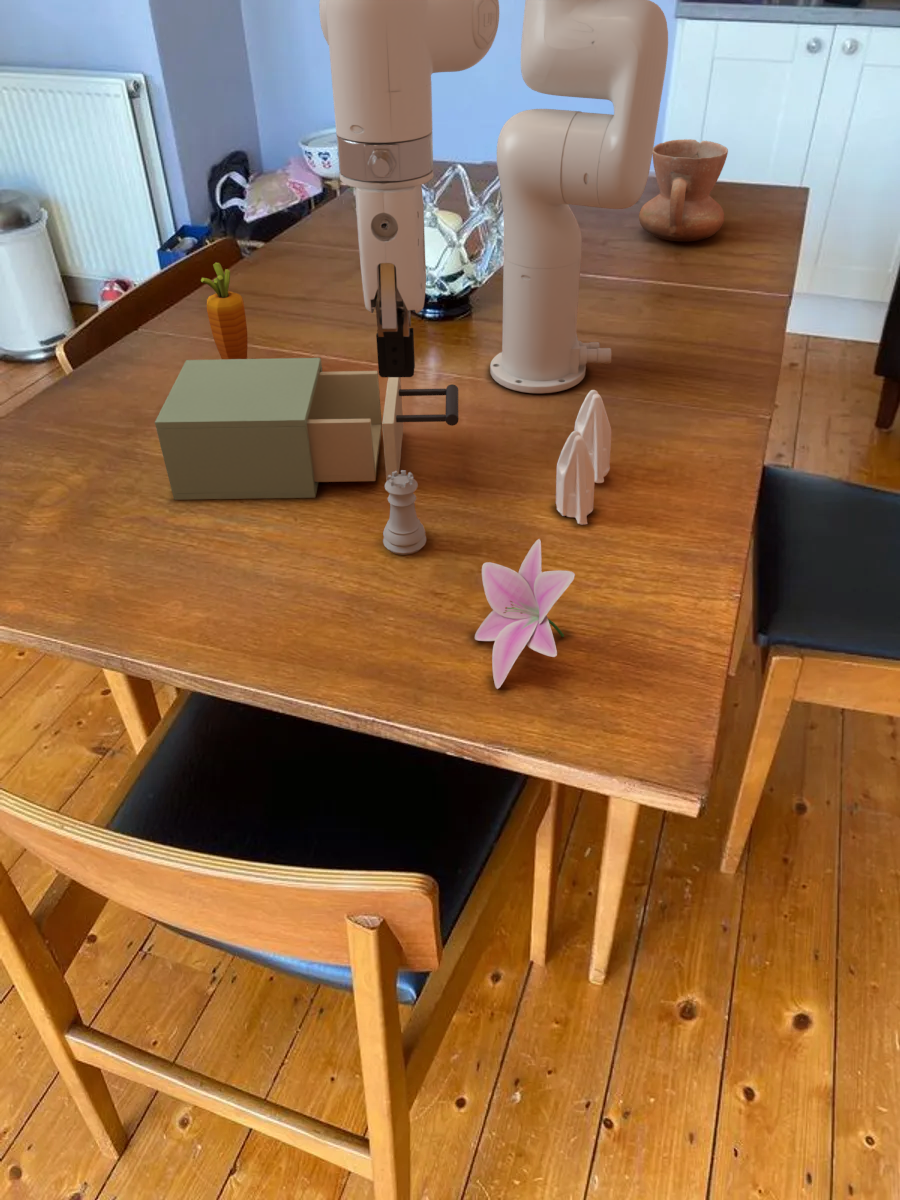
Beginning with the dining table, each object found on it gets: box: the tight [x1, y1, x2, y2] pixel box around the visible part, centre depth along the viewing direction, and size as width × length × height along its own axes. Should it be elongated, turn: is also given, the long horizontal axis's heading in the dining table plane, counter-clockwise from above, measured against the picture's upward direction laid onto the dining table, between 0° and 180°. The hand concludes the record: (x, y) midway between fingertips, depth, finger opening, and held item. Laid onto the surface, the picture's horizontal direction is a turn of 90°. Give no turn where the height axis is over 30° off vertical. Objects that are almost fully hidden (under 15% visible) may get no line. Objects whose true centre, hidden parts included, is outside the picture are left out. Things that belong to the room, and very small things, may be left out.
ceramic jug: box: [638, 138, 729, 243], centre depth 159 cm, size 18×14×14 cm
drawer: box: [307, 370, 459, 483], centre depth 105 cm, size 21×13×8 cm, turn 90°
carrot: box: [200, 262, 249, 359], centre depth 120 cm, size 5×5×15 cm
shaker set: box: [555, 389, 612, 526], centre depth 99 cm, size 12×4×11 cm, turn 159°
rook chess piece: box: [382, 469, 427, 556], centre depth 93 cm, size 4×4×8 cm
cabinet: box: [154, 357, 323, 501], centre depth 105 cm, size 16×15×10 cm
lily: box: [474, 538, 576, 690], centre depth 81 cm, size 12×12×10 cm
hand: (397, 373), depth 86 cm, fingers closed
